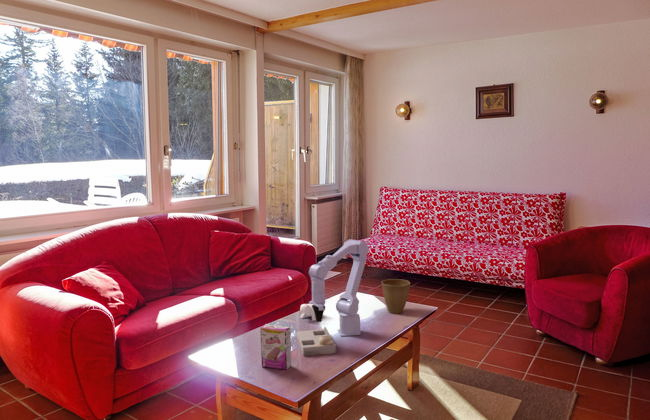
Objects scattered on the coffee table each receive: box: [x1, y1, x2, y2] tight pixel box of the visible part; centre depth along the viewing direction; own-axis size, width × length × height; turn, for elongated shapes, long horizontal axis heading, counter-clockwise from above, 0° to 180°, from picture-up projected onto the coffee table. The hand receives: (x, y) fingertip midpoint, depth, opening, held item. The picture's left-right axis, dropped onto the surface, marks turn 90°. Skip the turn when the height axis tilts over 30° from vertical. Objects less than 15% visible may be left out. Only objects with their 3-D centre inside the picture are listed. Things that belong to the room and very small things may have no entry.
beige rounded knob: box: [319, 335, 333, 346], centre depth 219 cm, size 5×5×4 cm
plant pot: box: [381, 278, 411, 315], centre depth 269 cm, size 15×15×16 cm
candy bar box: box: [260, 323, 292, 371], centre depth 203 cm, size 11×5×16 cm, turn 71°
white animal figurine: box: [299, 303, 316, 322], centre depth 261 cm, size 9×8×15 cm
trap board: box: [295, 326, 337, 357], centre depth 226 cm, size 14×24×4 cm, turn 10°
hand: (318, 321), depth 227 cm, fingers closed
